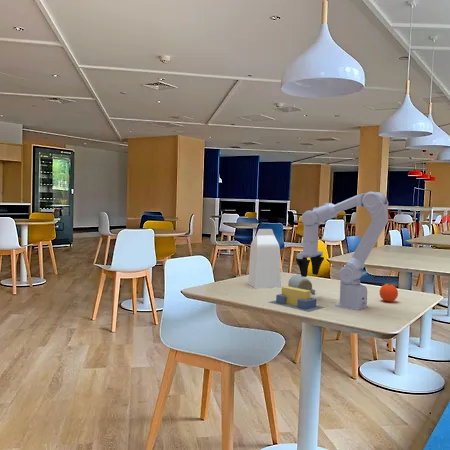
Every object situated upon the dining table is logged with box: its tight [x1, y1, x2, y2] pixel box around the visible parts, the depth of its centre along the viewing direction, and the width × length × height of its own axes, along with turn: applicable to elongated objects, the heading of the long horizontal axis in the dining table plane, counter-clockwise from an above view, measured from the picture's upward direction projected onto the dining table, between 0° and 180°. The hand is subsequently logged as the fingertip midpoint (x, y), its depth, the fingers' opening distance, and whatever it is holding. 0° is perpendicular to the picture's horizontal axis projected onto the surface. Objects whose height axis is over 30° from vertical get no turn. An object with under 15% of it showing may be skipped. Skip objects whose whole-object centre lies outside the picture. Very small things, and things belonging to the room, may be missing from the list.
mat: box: [268, 300, 325, 313], centre depth 172 cm, size 19×10×1 cm, turn 44°
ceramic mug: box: [287, 274, 316, 294], centre depth 193 cm, size 11×8×8 cm
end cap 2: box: [297, 297, 317, 310], centre depth 168 cm, size 4×6×3 cm, turn 134°
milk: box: [247, 228, 282, 290], centre depth 208 cm, size 12×12×26 cm
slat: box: [281, 285, 312, 306], centre depth 172 cm, size 11×3×6 cm, turn 44°
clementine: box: [379, 283, 399, 303], centre depth 182 cm, size 8×7×7 cm
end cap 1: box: [275, 293, 286, 304], centre depth 175 cm, size 4×6×3 cm, turn 134°
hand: (309, 275), depth 180 cm, fingers open, 7 cm apart
